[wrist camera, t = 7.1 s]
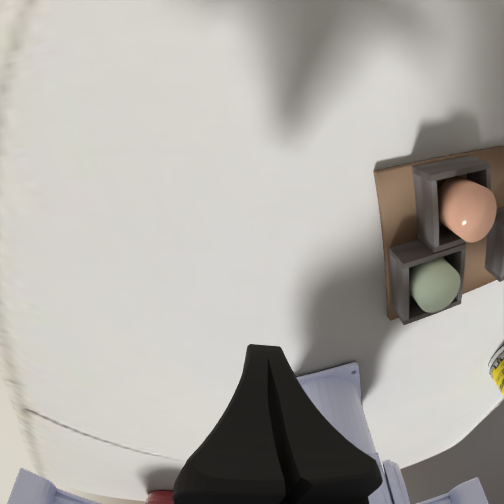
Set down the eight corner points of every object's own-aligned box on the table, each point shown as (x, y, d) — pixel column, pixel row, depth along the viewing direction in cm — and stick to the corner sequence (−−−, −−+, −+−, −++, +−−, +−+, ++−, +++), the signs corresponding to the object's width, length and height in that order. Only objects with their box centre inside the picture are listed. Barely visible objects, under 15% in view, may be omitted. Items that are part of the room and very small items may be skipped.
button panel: (515, 266, 22) (533, 281, 19) (387, 316, 24) (401, 339, 21) (521, 143, 17) (545, 150, 14) (373, 171, 19) (393, 182, 16)
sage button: (442, 285, 21) (458, 303, 19) (403, 298, 22) (417, 319, 19) (443, 245, 20) (462, 261, 17) (402, 258, 20) (418, 276, 18)
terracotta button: (473, 220, 18) (495, 234, 16) (435, 232, 18) (455, 248, 16) (472, 172, 17) (496, 182, 14) (433, 181, 17) (455, 192, 15)
